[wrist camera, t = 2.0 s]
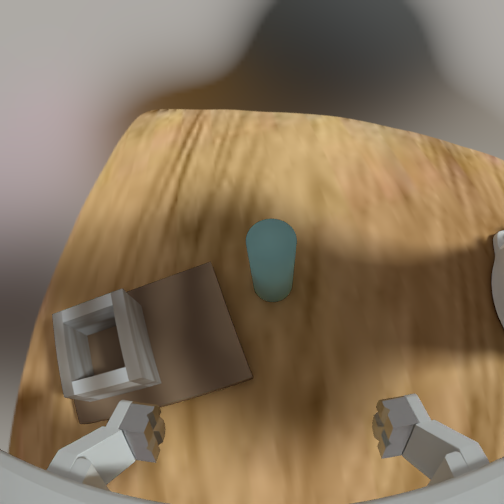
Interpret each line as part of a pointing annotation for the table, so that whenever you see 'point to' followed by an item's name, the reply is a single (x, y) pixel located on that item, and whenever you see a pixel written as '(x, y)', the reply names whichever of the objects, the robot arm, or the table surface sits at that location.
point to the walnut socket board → (148, 345)
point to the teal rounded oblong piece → (271, 258)
